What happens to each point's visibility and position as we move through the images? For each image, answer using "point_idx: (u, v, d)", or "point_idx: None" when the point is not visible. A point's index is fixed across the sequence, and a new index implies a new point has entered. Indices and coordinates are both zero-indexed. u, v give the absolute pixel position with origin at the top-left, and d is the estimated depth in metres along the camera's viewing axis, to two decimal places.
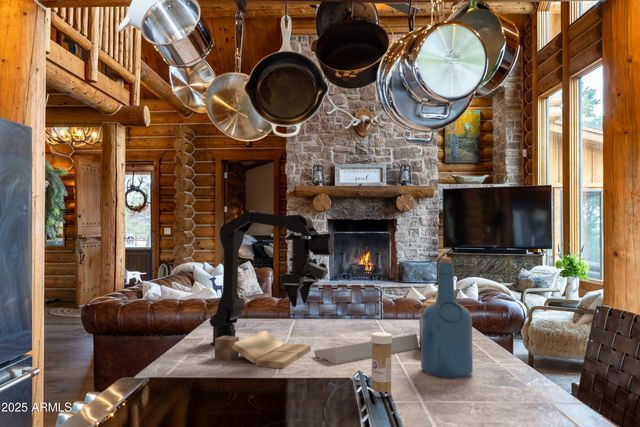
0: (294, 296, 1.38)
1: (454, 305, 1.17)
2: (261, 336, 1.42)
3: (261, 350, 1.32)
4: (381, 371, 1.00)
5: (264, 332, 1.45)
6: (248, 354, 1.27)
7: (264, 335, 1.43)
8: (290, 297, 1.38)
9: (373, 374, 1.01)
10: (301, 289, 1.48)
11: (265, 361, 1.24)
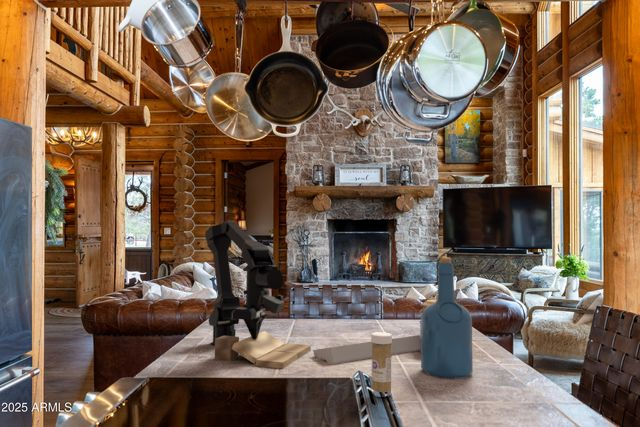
0: (254, 328, 1.36)
1: (454, 305, 1.17)
2: (260, 336, 1.42)
3: (261, 350, 1.32)
4: (381, 371, 1.00)
5: (263, 332, 1.45)
6: (248, 354, 1.27)
7: (264, 336, 1.43)
8: (250, 330, 1.36)
9: (373, 374, 1.01)
10: None
11: (265, 361, 1.24)
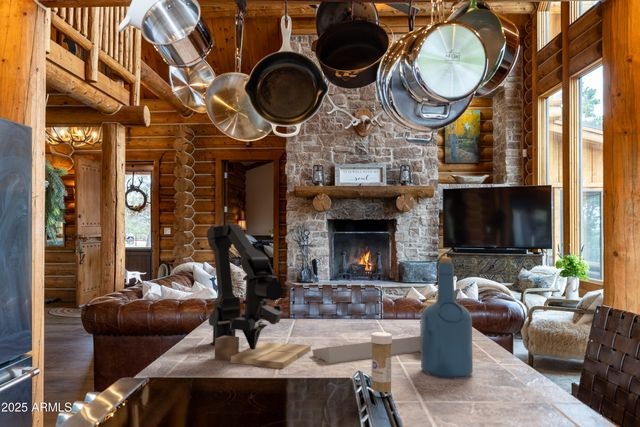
0: (252, 338, 1.36)
1: (454, 305, 1.17)
2: (258, 345, 1.42)
3: (260, 353, 1.32)
4: (381, 371, 1.00)
5: (261, 343, 1.46)
6: (247, 359, 1.27)
7: (262, 344, 1.43)
8: (248, 339, 1.36)
9: (373, 374, 1.01)
10: None
11: (265, 361, 1.24)
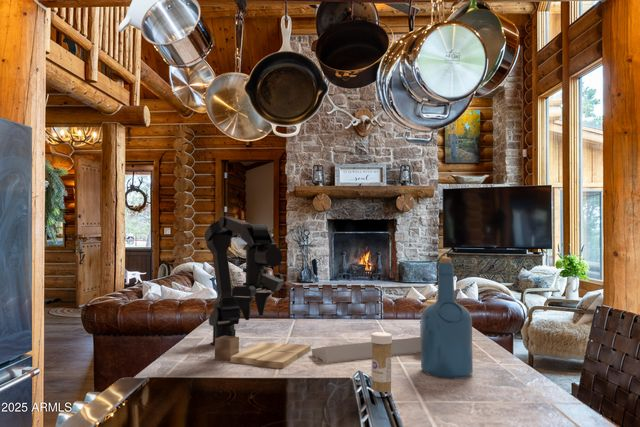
0: (246, 309, 1.32)
1: (454, 305, 1.17)
2: (258, 345, 1.42)
3: (260, 353, 1.32)
4: (381, 371, 1.00)
5: (261, 343, 1.46)
6: (247, 359, 1.27)
7: (262, 344, 1.43)
8: (242, 310, 1.32)
9: (373, 374, 1.01)
10: (257, 301, 1.43)
11: (265, 361, 1.24)
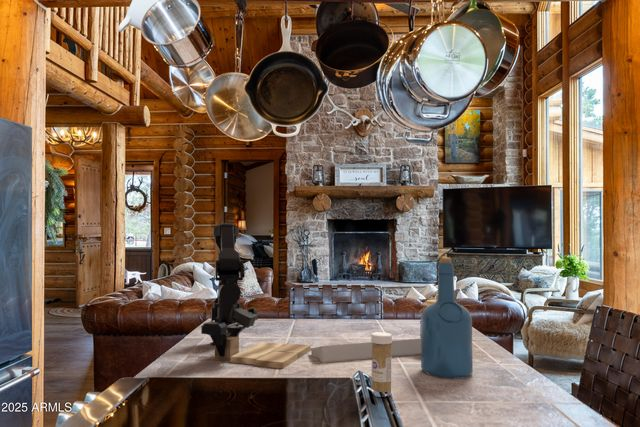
0: (221, 345, 1.29)
1: (454, 305, 1.17)
2: (258, 345, 1.42)
3: (260, 353, 1.32)
4: (381, 371, 1.00)
5: (261, 343, 1.46)
6: (247, 359, 1.27)
7: (262, 344, 1.43)
8: (217, 346, 1.29)
9: (373, 374, 1.01)
10: None
11: (265, 361, 1.24)
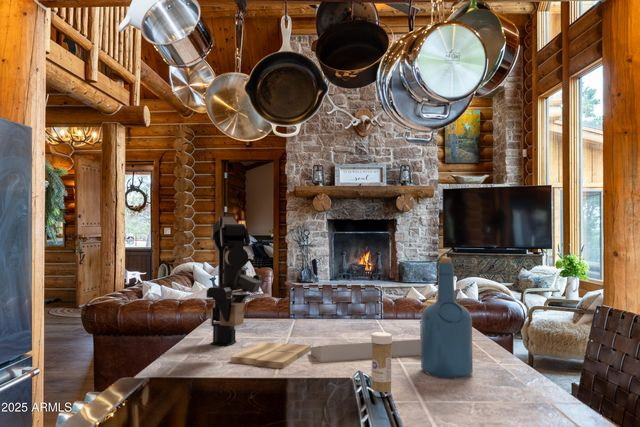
0: (226, 310, 1.30)
1: (454, 305, 1.17)
2: (258, 345, 1.42)
3: (260, 353, 1.32)
4: (381, 371, 1.00)
5: (261, 343, 1.46)
6: (247, 359, 1.27)
7: (262, 344, 1.43)
8: (222, 311, 1.30)
9: (373, 374, 1.01)
10: None
11: (265, 361, 1.24)
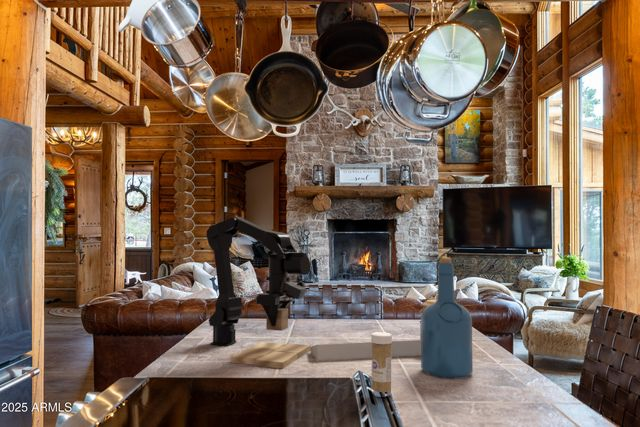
0: (273, 315, 1.37)
1: (454, 305, 1.17)
2: (258, 345, 1.42)
3: (260, 353, 1.32)
4: (381, 371, 1.00)
5: (261, 343, 1.46)
6: (247, 359, 1.27)
7: (262, 344, 1.43)
8: (269, 316, 1.38)
9: (373, 374, 1.01)
10: None
11: (265, 361, 1.24)
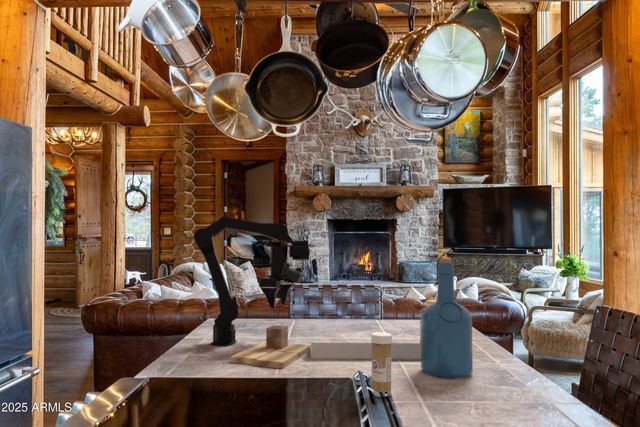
0: (272, 298, 1.50)
1: (454, 305, 1.17)
2: (258, 345, 1.42)
3: (260, 353, 1.32)
4: (381, 371, 1.00)
5: (261, 343, 1.46)
6: (247, 359, 1.27)
7: (262, 344, 1.43)
8: (268, 299, 1.50)
9: (373, 374, 1.01)
10: (280, 292, 1.60)
11: (265, 361, 1.24)
